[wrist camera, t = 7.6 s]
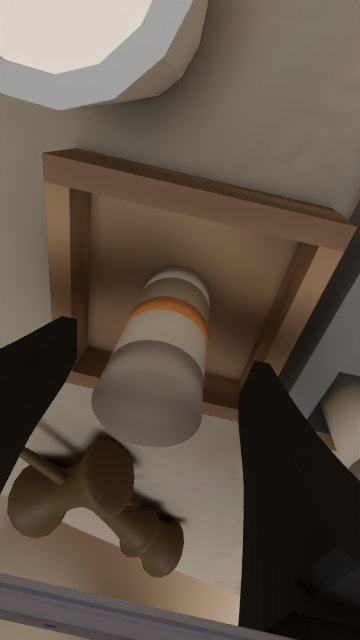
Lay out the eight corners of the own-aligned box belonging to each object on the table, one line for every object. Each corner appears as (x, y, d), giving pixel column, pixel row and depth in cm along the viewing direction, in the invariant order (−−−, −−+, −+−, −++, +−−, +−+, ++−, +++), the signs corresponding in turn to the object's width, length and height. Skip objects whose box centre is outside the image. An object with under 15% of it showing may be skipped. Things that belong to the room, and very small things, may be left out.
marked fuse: (202, 330, 17) (189, 457, 11) (140, 315, 17) (88, 434, 11) (219, 273, 15) (216, 386, 9) (149, 257, 15) (91, 356, 8)
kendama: (136, 525, 35) (-1, 431, 27) (206, 508, 32) (73, 394, 23) (125, 591, 30) (-49, 501, 22) (205, 580, 27) (36, 468, 18)
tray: (248, 388, 20) (252, 425, 18) (76, 348, 20) (55, 380, 18) (332, 208, 13) (357, 226, 11) (75, 148, 13) (42, 152, 11)
